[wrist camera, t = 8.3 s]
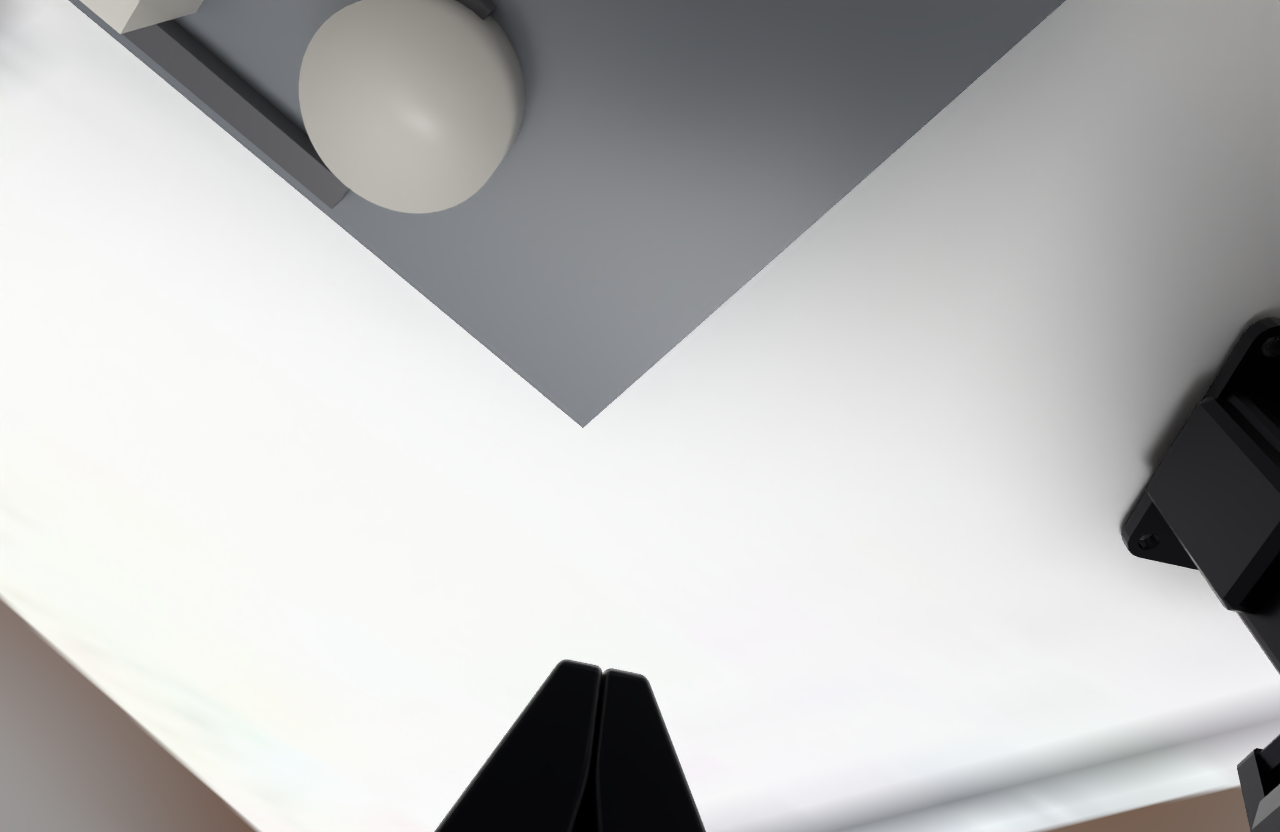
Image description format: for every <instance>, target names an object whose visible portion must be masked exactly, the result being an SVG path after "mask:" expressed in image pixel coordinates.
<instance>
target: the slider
mask: <svg viewBox="0 0 1280 832" xmlns="http://www.w3.org/2000/svg"><path fill="white" fill-rule="evenodd" d="M80 1H81V2H82V3H83V4H84V5H86V6H87V7H88V8H89V9H90V10H92V11H93V12H94V13H95V14H96V15H98V16H99V17H100V18H101V19H102V20H104V21H105V22H106V23H107V24H108V25H110V26H111V27H112V28H113V29H114V30H116V31H117V32H118V33H119V34H123V33H126V32H130V31H133V30H137V29H140V28H144V27H147V26H151V25H154V24H158V23H161V22H165V21H168V20H172V19H175V18H179V17H182V16H186V15H189V14H193V13H196V12H197V10H198V9H199V7H200V5H201V4H202V2H203V1H204V0H80Z"/></svg>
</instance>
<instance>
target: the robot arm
mask: <svg viewBox="0 0 1280 832" xmlns="http://www.w3.org/2000/svg"><path fill="white" fill-rule="evenodd" d="M1274 336H1278V339H1277V341H1276V342H1275V343H1274V344H1273V345H1272V346H1270V347H1268V348H1262V347H1263V344H1264V343H1265V342H1266V341H1267V340H1268V339H1269V338H1271V337H1274ZM1146 489H1147V490H1146V492H1145V493H1144V495H1143V497H1142V498H1141V500H1140V502H1139V503H1138V505H1137V506H1136V508H1135V510H1134V511H1133V513H1132V514H1131V516H1130V518H1129V519H1128V521H1127V523H1126V524H1125V526H1124V527H1123V530H1122V533H1121V536H1122V540H1123V542H1124V544H1125V545H1126V547H1127V549H1128V550H1129V551H1130V552H1131V553H1132V555H1135V556H1137V557H1140V558H1145V559H1149V560H1154V561H1159V562H1163V563H1168V564H1173V565H1177V566H1182V567H1187V568H1191V569H1196V570H1199V571H1200V572H1201V574H1202V575H1203V577H1204V578H1205V580H1206V581H1207V582H1208V584H1209V585H1210V587H1211V588H1212V590H1213V591H1214V593H1215V594H1216V596H1217V597H1218V599H1219V600H1220V602H1221V603H1222V605H1223V606H1224V607H1225V608H1227V609H1228V610H1231V611H1236V612H1237V614H1238V615H1239V616H1240V618H1241V619H1242V621H1243V622H1244V624H1245V625H1246V627H1247V628H1248V629H1249V631H1250V632H1251V634H1252V635H1253V637H1254V638H1255V640H1256V641H1257V642H1258V644H1259V645H1260V647H1261V648H1262V650H1263V651H1264V653H1265V654H1266V655H1267V657H1268V658H1269V660H1270V661H1271V663H1272V664H1273V666H1274V667H1275V668H1276V670H1277V671H1278V673H1279V674H1280V318H1271V317H1269V318H1265V319H1262V320H1259V321H1257V322H1255V323H1254V324H1252V325H1251V326H1250V327H1249V328H1248V329H1247V330H1246V331H1245V332H1244V334H1243V335H1242V337H1241V338H1240V340H1239V342H1238V343H1237V345H1236V346H1235V348H1234V350H1233V351H1232V353H1231V355H1230V356H1229V358H1228V359H1227V361H1226V363H1225V364H1224V366H1223V367H1222V369H1221V371H1220V372H1219V374H1218V376H1217V377H1216V379H1215V380H1214V382H1213V384H1212V385H1211V387H1210V388H1209V390H1208V392H1207V393H1206V395H1205V397H1204V398H1203V400H1202V401H1201V402H1200V403H1199V404H1198V405H1197V406H1196V407H1195V409H1194V410H1193V412H1192V414H1191V415H1190V417H1189V418H1188V420H1187V422H1186V423H1185V425H1184V427H1183V428H1182V430H1181V431H1180V433H1179V435H1178V436H1177V438H1176V440H1175V441H1174V443H1173V444H1172V446H1171V448H1170V449H1169V451H1168V452H1167V454H1166V456H1165V457H1164V459H1163V461H1162V462H1161V464H1160V465H1159V467H1158V469H1157V470H1156V472H1155V474H1154V475H1153V477H1152V478H1151V480H1150V482H1149V483H1148V485H1147V488H1146ZM1147 534H1152V535H1151V536H1150V537H1149V538H1146V539H1144V540H1139V539H1140V538H1141V537H1142V536H1144V535H1147ZM1237 770H1238V775H1239V780H1240V784H1241V789H1242V794H1243V798H1244V803H1245V807H1246V812H1247V817H1248V821H1249V826H1250V831H1251V832H1280V734H1279V735H1278V736H1277V737H1276V738H1275V739H1274V740H1273V741H1272V742H1270V743H1269V744H1268V745H1267V746H1266V747H1265V748H1264V749H1258V748H1256V749H1254V750H1253V751H1252V752H1251V753H1250V754H1249V755H1248V756H1247V757H1246V758H1245V759H1243V760H1242V761H1241V762H1240V763H1239V764H1238V765H1237ZM435 832H706V830H705V828H704V825H703V822H702V820H701V817H700V815H699V812H698V809H697V807H696V804H695V801H694V799H693V796H692V794H691V791H690V788H689V786H688V783H687V780H686V778H685V775H684V772H683V770H682V767H681V765H680V762H679V759H678V757H677V754H676V751H675V749H674V746H673V744H672V741H671V738H670V736H669V733H668V730H667V728H666V725H665V722H664V720H663V717H662V715H661V712H660V709H659V707H658V704H657V701H656V699H655V696H654V694H653V691H652V688H651V686H650V683H649V681H648V680H647V678H646V677H645V676H643V675H641V674H637V673H632V672H627V671H622V670H617V669H607V670H606V671H605V672H604V673H603V675H602V670H601V668H600V667H599V666H596V665H592V664H587V663H582V662H577V661H572V660H562V661H561V662H559V663H558V664H557V665H556V667H555V668H554V669H553V671H552V672H551V673H550V675H549V676H548V677H547V679H546V680H545V682H544V683H543V684H542V686H541V687H540V688H539V690H538V691H537V692H536V694H535V695H534V697H533V698H532V699H531V701H530V702H529V703H528V705H527V706H526V707H525V709H524V710H523V712H522V713H521V714H520V716H519V717H518V718H517V720H516V721H515V722H514V724H513V725H512V727H511V728H510V729H509V731H508V732H507V733H506V735H505V736H504V737H503V739H502V740H501V742H500V743H499V744H498V746H497V747H496V748H495V750H494V751H493V752H492V754H491V755H490V757H489V758H488V759H487V761H486V762H485V763H484V765H483V766H482V768H481V769H480V770H479V772H478V773H477V774H476V776H475V777H474V778H473V780H472V781H471V783H470V784H469V785H468V787H467V788H466V789H465V791H464V792H463V793H462V795H461V796H460V798H459V799H458V800H457V802H456V803H455V804H454V806H453V807H452V808H451V810H450V811H449V813H448V814H447V815H446V817H445V818H444V819H443V821H442V822H441V823H440V825H439V826H438V828H437V829H436V830H435Z"/></svg>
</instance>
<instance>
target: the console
mask: <svg viewBox="0 0 1280 832" xmlns="http://www.w3.org/2000/svg"><path fill="white" fill-rule="evenodd" d="M69 1H70V2H71V3H73V4H74V5H75V6H76V7H77V8H79V9H80V10H81V11H82V12H83V13H85V14H86V15H87V16H88V17H89V18H91V19H92V20H93V21H94V22H95V23H97V24H98V25H99V26H100V27H101V28H103V29H104V30H105V31H106V32H107V33H109V34H110V35H111V36H112V37H113V38H115V39H116V40H117V41H118V42H119V43H121V44H122V45H123V46H124V47H125V48H127V49H128V50H129V51H130V52H131V53H133V54H134V55H135V56H136V57H137V58H139V59H140V60H141V61H142V62H143V63H145V64H146V65H147V66H148V67H149V68H151V69H152V70H153V71H154V72H156V73H157V74H158V75H159V76H160V77H162V78H163V79H164V80H165V81H166V82H168V83H169V84H170V85H171V86H172V87H174V88H175V89H176V90H177V91H178V92H180V93H181V94H182V95H183V96H184V97H186V98H187V99H188V100H189V101H190V102H192V103H193V104H194V105H195V106H196V107H198V108H199V109H200V110H201V111H202V112H204V113H205V114H206V115H207V116H208V117H210V118H211V119H212V120H213V121H214V122H216V123H217V124H218V125H219V126H220V127H222V128H223V129H224V130H225V131H226V132H228V133H229V134H230V135H231V136H232V137H234V138H235V139H236V140H237V141H238V142H240V143H241V144H242V145H243V146H245V147H246V148H247V149H248V150H249V151H251V152H252V153H253V154H254V155H255V156H257V157H258V158H259V159H260V160H261V161H263V162H264V163H265V164H266V165H267V166H269V167H270V168H271V169H272V170H273V171H275V172H276V173H277V174H278V175H279V176H281V177H282V178H283V179H284V180H285V181H287V182H288V183H289V184H290V185H291V186H293V187H294V188H295V189H296V190H297V191H299V192H300V193H301V194H302V195H303V196H305V197H306V198H307V199H308V200H309V201H311V202H312V203H313V204H314V205H315V206H317V207H318V208H319V209H320V210H321V211H323V212H324V213H325V214H326V215H327V216H329V217H330V218H331V219H332V220H334V221H335V222H336V223H337V224H338V225H340V226H341V227H342V228H343V229H344V230H346V231H347V232H348V233H349V234H350V235H352V236H353V237H354V238H355V239H356V240H358V241H359V242H360V243H361V244H362V245H364V246H365V247H366V248H367V249H368V250H370V251H371V252H372V253H373V254H374V255H376V256H377V257H378V258H379V259H380V260H382V261H383V262H384V263H385V264H386V265H388V266H389V267H390V268H391V269H392V270H394V271H395V272H396V273H397V274H398V275H400V276H401V277H402V278H403V279H404V280H406V281H407V282H408V283H409V284H410V285H412V286H413V287H414V288H415V289H416V290H418V291H419V292H420V293H421V294H423V295H424V296H425V297H426V298H427V299H429V300H430V301H431V302H432V303H433V304H435V305H436V306H437V307H438V308H439V309H441V310H442V311H443V312H444V313H445V314H447V315H448V316H449V317H450V318H451V319H453V320H454V321H455V322H456V323H457V324H459V325H460V326H461V327H462V328H463V329H465V330H466V331H467V332H468V333H469V334H471V335H472V336H473V337H474V338H475V339H477V340H478V341H479V342H480V343H481V344H483V345H484V346H485V347H486V348H487V349H489V350H490V351H491V352H492V353H493V354H495V355H496V356H497V357H498V358H499V359H501V360H502V361H503V362H504V363H505V364H507V365H508V366H509V367H510V368H512V369H513V370H514V371H515V372H516V373H518V374H519V375H520V376H521V377H522V378H524V379H525V380H526V381H527V382H528V383H530V384H531V385H532V386H533V387H534V388H536V389H537V390H538V391H539V392H540V393H542V394H543V395H544V396H545V397H546V398H548V399H549V400H550V401H551V402H552V403H554V404H555V405H556V406H557V407H558V408H560V409H561V410H562V411H563V412H564V413H566V414H567V415H568V416H569V417H570V418H572V419H573V420H574V421H575V422H576V423H578V424H579V425H580V426H581V427H582V428H583V427H584V426H586V425H587V424H588V423H589V422H590V421H591V420H592V419H594V418H595V417H596V416H597V415H598V414H599V413H600V412H601V411H603V410H604V409H605V408H606V407H607V406H608V405H609V404H610V403H612V402H613V401H614V400H615V399H616V398H617V397H618V396H619V395H621V394H622V393H623V392H624V391H625V390H626V389H627V388H629V387H630V386H631V385H632V384H633V383H634V382H635V381H636V380H638V379H639V378H640V377H641V376H642V375H643V374H644V373H645V372H647V371H648V370H649V369H650V368H651V367H652V366H653V365H654V364H656V363H657V362H658V361H659V360H660V359H661V358H662V357H663V356H665V355H666V354H667V353H668V352H669V351H670V350H671V349H673V348H674V347H675V346H676V345H677V344H678V343H679V342H680V341H682V340H683V339H684V338H685V337H686V336H687V335H688V334H689V333H691V332H692V331H693V330H694V329H695V328H696V327H697V326H698V325H700V324H701V323H702V322H703V321H704V320H705V319H706V318H708V317H709V316H710V315H711V314H712V313H713V312H714V311H715V310H717V309H718V308H719V307H720V306H721V305H722V304H723V303H724V302H726V301H727V300H728V299H729V298H730V297H731V296H732V295H733V294H735V293H736V292H737V291H738V290H739V289H740V288H741V287H743V286H744V285H745V284H746V283H747V282H748V281H749V280H750V279H752V278H753V277H754V276H755V275H756V274H757V273H758V272H759V271H761V270H762V269H763V268H764V267H765V266H766V265H767V264H768V263H770V262H771V261H772V260H773V259H774V258H775V257H776V256H777V255H779V254H780V253H781V252H782V251H783V250H784V249H785V248H787V247H788V246H789V245H790V244H791V243H792V242H793V241H794V240H796V239H797V238H798V237H799V236H800V235H801V234H802V233H803V232H805V231H806V230H807V229H808V228H809V227H810V226H811V225H812V224H814V223H815V222H816V221H817V220H818V219H819V218H820V217H822V216H823V215H824V214H825V213H826V212H827V211H828V210H829V209H831V208H832V207H833V206H834V205H835V204H836V203H837V202H838V201H840V200H841V199H842V198H843V197H844V196H845V195H846V194H847V193H849V192H850V191H851V190H852V189H853V188H854V187H855V186H856V185H858V184H859V183H860V182H861V181H862V180H863V179H864V178H866V177H867V176H868V175H869V174H870V173H871V172H872V171H873V170H875V169H876V168H877V167H878V166H879V165H880V164H881V163H882V162H884V161H885V160H886V159H887V158H888V157H889V156H890V155H891V154H893V153H894V152H895V151H896V150H897V149H898V148H899V147H901V146H902V145H903V144H904V143H905V142H906V141H907V140H908V139H910V138H911V137H912V136H913V135H914V134H915V133H916V132H917V131H919V130H920V129H921V128H922V127H923V126H924V125H925V124H926V123H928V122H929V121H930V120H931V119H932V118H933V117H934V116H936V115H937V114H938V113H939V112H940V111H941V110H942V109H943V108H945V107H946V106H947V105H948V104H949V103H950V102H951V101H952V100H954V99H955V98H956V97H957V96H958V95H959V94H960V93H961V92H963V91H964V90H965V89H966V88H967V87H968V86H969V85H970V84H972V83H973V82H974V81H975V80H976V79H977V78H978V77H980V76H981V75H982V74H983V73H984V72H985V71H986V70H987V69H989V68H990V67H991V66H992V65H993V64H994V63H995V62H996V61H998V60H999V59H1000V58H1001V57H1002V56H1003V55H1004V54H1005V53H1007V52H1008V51H1009V50H1010V49H1011V48H1012V47H1013V46H1015V45H1016V44H1017V43H1018V42H1019V41H1020V40H1021V39H1022V38H1024V37H1025V36H1026V35H1027V34H1028V33H1029V32H1030V31H1031V30H1033V29H1034V28H1035V27H1036V26H1037V25H1038V24H1039V23H1040V22H1042V21H1043V20H1044V19H1045V18H1046V17H1047V16H1048V15H1049V14H1051V13H1052V12H1053V11H1054V10H1055V9H1056V8H1057V7H1059V6H1060V5H1061V4H1062V3H1063V2H1064V1H1065V0H204V1H203V2H202V4H201V5H200V7H199V9H198V10H197V12H196V13H193V14H189V15H186V16H182V17H179V18H175V19H172V20H168V21H165V22H161V23H158V24H154V25H151V26H147V27H144V28H140V29H137V30H133V31H130V32H126V33H123V34H119V33H118V32H117V31H116V30H114V29H113V28H112V27H111V26H110V25H108V24H107V23H106V22H105V21H104V20H102V19H101V18H100V17H99V16H98V15H96V14H95V13H94V12H93V11H92V10H90V9H89V8H88V7H87V6H86V5H84V4H83V3H82V2H81V1H80V0H69Z"/></svg>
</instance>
